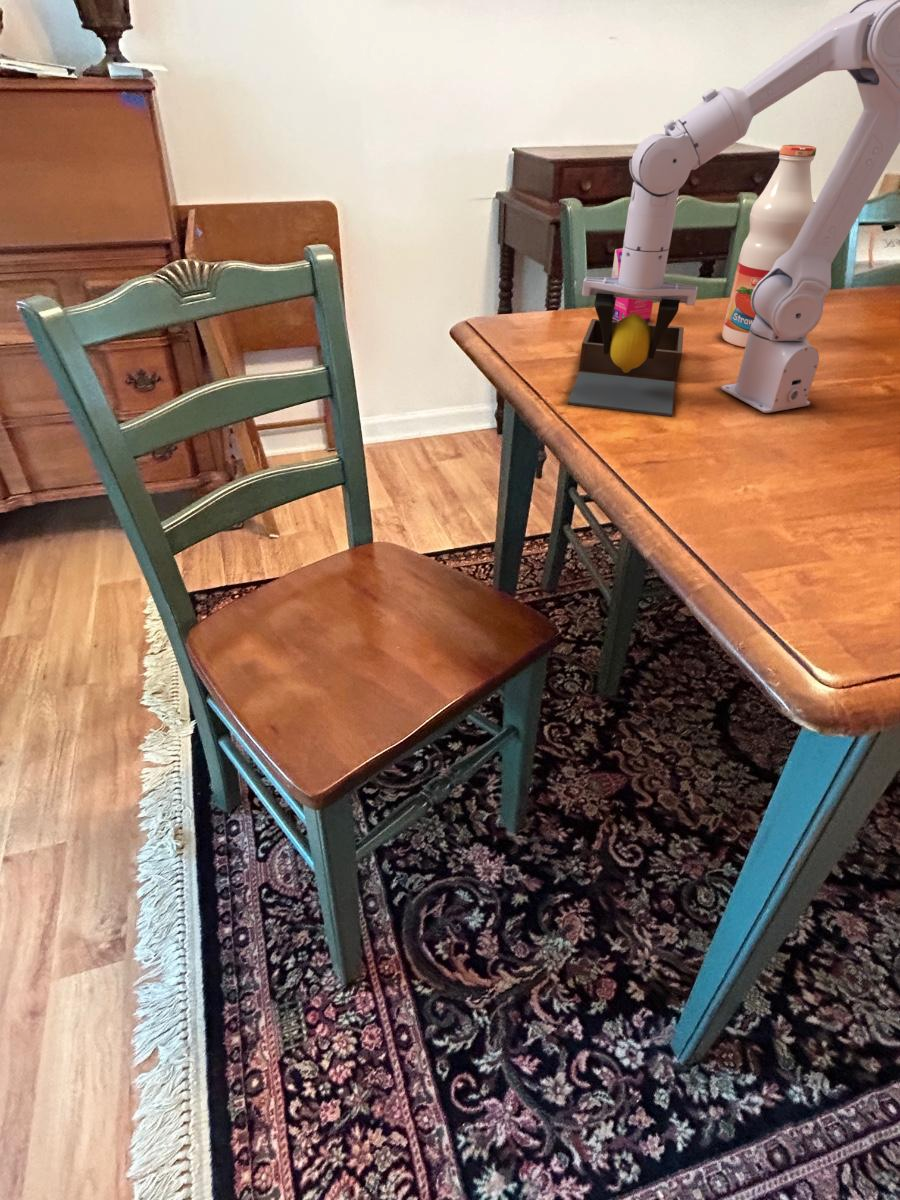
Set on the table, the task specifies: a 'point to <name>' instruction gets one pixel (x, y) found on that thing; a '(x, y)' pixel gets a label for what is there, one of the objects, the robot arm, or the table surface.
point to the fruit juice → (770, 234)
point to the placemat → (623, 393)
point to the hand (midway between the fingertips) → (629, 353)
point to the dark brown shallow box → (657, 368)
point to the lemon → (630, 342)
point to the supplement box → (627, 305)
